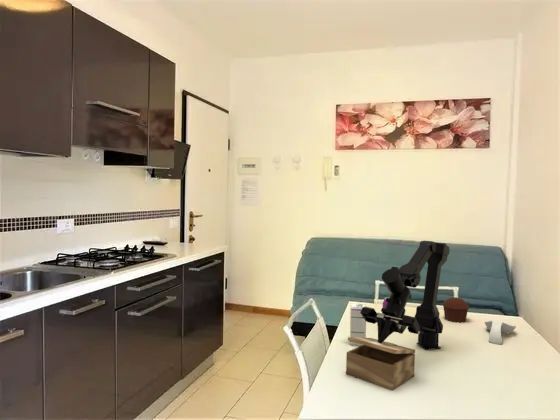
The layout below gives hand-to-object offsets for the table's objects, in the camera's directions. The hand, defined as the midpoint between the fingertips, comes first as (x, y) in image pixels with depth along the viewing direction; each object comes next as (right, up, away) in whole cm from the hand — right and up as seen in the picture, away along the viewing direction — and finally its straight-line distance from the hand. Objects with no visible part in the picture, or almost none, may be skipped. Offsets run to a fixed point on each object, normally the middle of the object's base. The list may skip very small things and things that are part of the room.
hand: (379, 342), depth 134 cm
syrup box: (-1, -10, +30) cm, 32 cm away
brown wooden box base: (0, -10, +1) cm, 10 cm away
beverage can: (+17, -9, +52) cm, 56 cm away
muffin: (+49, -9, +64) cm, 81 cm away
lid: (+1, -2, +1) cm, 2 cm away
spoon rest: (+58, -11, +42) cm, 73 cm away
